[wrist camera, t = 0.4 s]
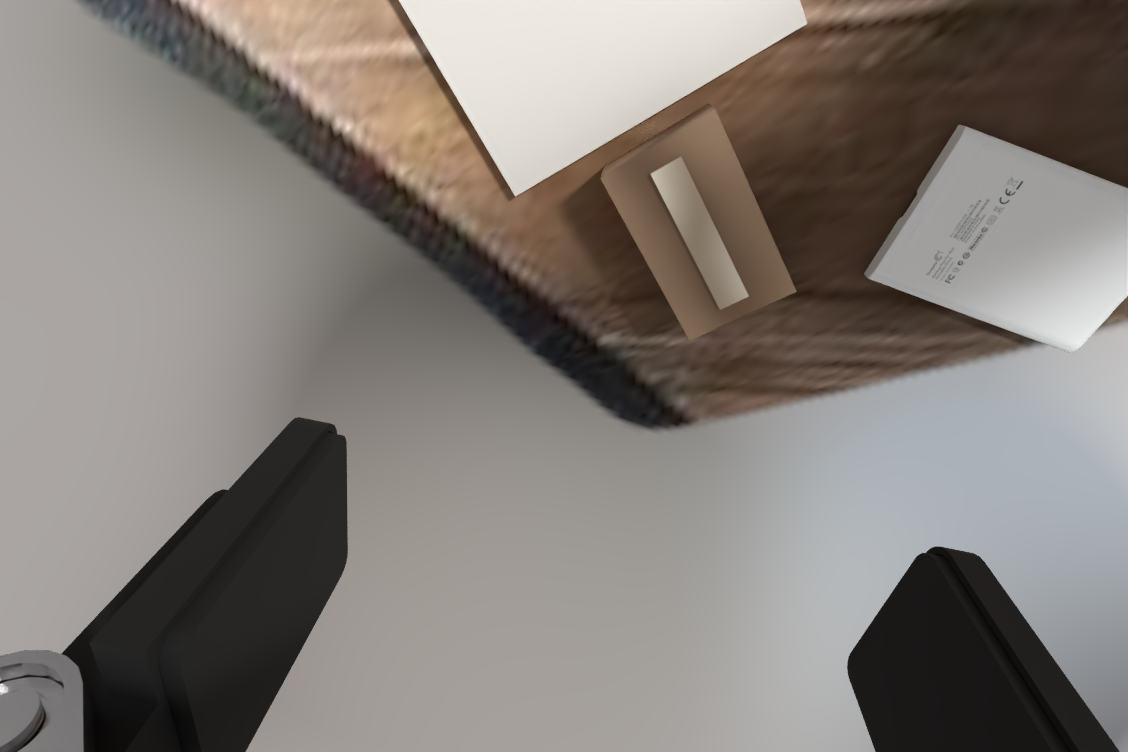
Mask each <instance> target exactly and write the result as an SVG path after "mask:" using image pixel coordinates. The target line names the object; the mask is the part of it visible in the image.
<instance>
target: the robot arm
mask: <svg viewBox="0 0 1128 752" xmlns="http://www.w3.org/2000/svg"><path fill="white" fill-rule="evenodd" d="M346 454H347V450H346V438H345V437H344V436H342V435H337V430H336V428H335V426H334V425H333V424H330V423H324V422H320V421H314V420H310V419H304V418H300V417H298V418H295V419H293V420H292V421H291V422H290V423H289V424H288V425H287V426H286V428H285V429H284V430H283V431H282V432H281V433H280V434H279V435H278V437H276V438H275V440H274V441H273V442H272V443H271V444H270V445H269V446H268V447H267V448H266V449H265V450H264V452H263V453H262V454H261V455H260V456H259V457H258V458H257V459H256V460H255V461H254V463H253V464H252V465H251V466H250V467H249V468H248V469H247V470H246V471H245V472H244V473H243V475H242V476H241V477H240V478H239V479H238V480H237V481H236V482H235V483H234V485H232V487H231V488H230V489H229V490H220V491H218V492H216V493H214V494H213V495H212V496H211V497H209V498H208V499H207V500H206V501H205V502H204V503H203V504H202V505H201V506H200V507H199V508H198V509H197V511H195V513H194V514H193V515H192V516H191V517H190V518H189V519H188V520H187V521H186V522H185V523H184V525H182V526H181V528H180V529H179V530H178V531H177V532H176V533H175V534H174V535H173V536H172V537H171V538H170V539H169V540H168V541H167V542H166V543H165V545H164V546H163V547H162V548H161V549H160V550H159V551H158V552H157V553H156V554H155V555H154V556H153V557H152V558H151V559H150V560H149V561H148V563H146V565H145V566H144V567H143V568H142V569H141V570H140V571H139V572H138V573H137V574H136V575H135V576H134V577H133V578H132V579H131V580H130V582H129V583H128V584H127V585H126V586H125V587H124V588H123V589H122V590H121V591H120V592H119V593H118V594H117V595H116V596H115V598H114V599H113V600H112V601H111V602H110V603H109V604H108V605H107V606H106V607H105V608H104V609H103V610H102V611H101V612H100V613H99V614H98V616H97V617H96V618H95V619H94V620H93V621H92V622H91V623H90V624H89V625H88V626H87V627H86V628H85V629H84V630H83V631H82V633H81V634H80V635H79V636H78V637H77V638H76V639H75V640H74V641H73V642H72V643H71V644H70V645H69V646H68V647H67V648H66V650H65V651H64V652H63V653H62V654H59V653H56V652H52V651H49V650H29V651H28V650H26V651H25V650H24V651H19V652H16V653H11V654H6V655H2V656H0V752H245V751H246V750H247V748H248V746H249V744H250V742H251V740H252V739H253V737H254V735H255V733H256V731H257V729H258V728H259V726H260V724H261V722H262V720H263V718H264V717H265V715H266V713H267V711H268V709H269V708H270V706H271V704H272V702H273V700H274V698H275V696H276V695H277V693H278V691H279V689H280V687H281V686H282V684H283V682H284V680H285V678H286V676H287V675H288V673H289V671H290V669H291V667H292V665H293V664H294V662H295V660H296V658H297V656H298V654H299V653H300V651H301V649H302V647H303V645H304V643H305V642H306V640H307V638H308V636H309V634H310V632H311V631H312V629H313V627H314V625H315V623H316V621H317V620H318V618H319V616H320V614H321V612H322V610H323V608H324V607H325V605H326V603H327V601H328V599H329V597H330V596H331V594H332V592H333V590H334V588H335V586H336V585H337V583H338V581H339V579H340V577H341V575H342V573H343V570H344V568H345V564H346V560H347V553H348V552H347V551H348V548H347V547H348V545H347V544H348V543H347V458H346V457H347V455H346ZM847 668H848V675H849V679H850V682H851V684H852V687H853V690H854V693H855V696H856V699H857V701H858V704H859V707H860V710H861V712H862V715H863V718H864V720H865V723H866V726H867V729H868V732H869V735H870V737H871V740H872V743H873V746H874V748H875V751H876V752H1119V750H1118V749H1117V748H1116V746H1115V745H1114V743H1113V742H1112V740H1111V739H1110V738H1109V736H1108V735H1107V733H1106V732H1105V731H1104V729H1103V728H1102V726H1101V725H1100V723H1099V722H1098V721H1097V719H1096V718H1095V716H1094V715H1093V714H1092V712H1091V711H1090V709H1089V708H1088V707H1087V705H1086V704H1085V703H1084V701H1083V700H1082V698H1081V697H1080V696H1079V694H1078V693H1077V691H1076V690H1075V688H1074V687H1073V686H1072V684H1071V683H1070V682H1069V680H1068V679H1067V677H1066V676H1065V674H1064V673H1063V672H1062V670H1061V669H1060V667H1059V666H1058V665H1057V663H1056V662H1055V660H1054V659H1053V658H1052V656H1051V655H1050V653H1049V652H1048V651H1047V649H1046V648H1045V646H1044V645H1043V643H1042V642H1041V641H1040V639H1039V638H1038V636H1037V635H1036V634H1035V632H1034V631H1033V630H1032V628H1031V627H1030V625H1029V624H1028V622H1027V621H1026V620H1025V618H1024V617H1023V615H1022V614H1021V613H1020V611H1019V610H1018V608H1017V607H1016V606H1015V604H1014V603H1013V601H1012V600H1011V599H1010V597H1009V596H1008V595H1007V593H1006V591H1005V590H1004V589H1003V587H1002V586H1001V584H1000V583H999V582H998V581H997V579H996V577H995V576H994V575H993V573H992V572H991V570H990V569H989V568H988V566H987V565H986V563H985V562H984V561H983V560H982V559H981V558H980V557H979V556H977V555H975V554H973V553H969V552H964V551H959V550H954V549H949V548H944V547H933V548H931V549H929V550H928V551H927V552H926V553H922V554H920V555H918V556H917V557H916V558H915V560H914V561H913V563H912V564H911V566H910V567H909V569H908V570H907V572H906V573H905V574H904V576H903V577H902V579H901V580H900V582H899V583H898V585H897V586H896V587H895V589H894V590H893V592H892V593H891V595H890V596H889V598H888V599H887V601H886V602H885V604H884V605H883V606H882V608H881V610H880V611H879V612H878V614H877V615H876V617H875V618H874V620H873V621H872V623H871V624H870V626H869V627H868V629H867V630H866V631H865V633H864V634H863V636H862V637H861V639H860V640H859V642H858V643H857V645H856V646H855V648H854V649H853V650H852V652H851V653H850V656H849V659H848V667H847Z"/></svg>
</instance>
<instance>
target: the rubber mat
mask: <svg viewBox="0 0 1128 752" xmlns="http://www.w3.org/2000/svg"><path fill="white" fill-rule="evenodd" d="M399 2H400V3H401V5H402V7H403V8H404V10H405V12H406V13H407V15H408V17H409V18H410V20H411V22H412V23H413V25H414V27H415V28H416V30H417V32H418V34H419V35H420V37H421V39H422V40H423V42H424V44H425V45H426V47H427V49H428V50H429V52H430V54H431V55H432V57H433V59H434V61H435V62H436V64H437V66H438V67H439V69H440V71H441V72H442V74H443V76H444V77H445V79H446V81H447V82H448V84H449V86H450V87H451V89H452V91H453V93H454V94H455V96H456V98H457V99H458V101H459V103H460V104H461V106H462V108H463V109H464V111H465V113H466V114H467V116H468V118H469V119H470V121H471V123H472V125H473V126H474V128H475V130H476V131H477V133H478V135H479V136H480V138H481V140H482V141H483V143H484V145H485V146H486V148H487V150H488V152H489V153H490V155H491V157H492V158H493V160H494V162H495V163H496V165H497V167H498V168H499V170H500V172H501V173H502V175H503V177H504V178H505V180H506V182H507V184H508V185H509V187H510V189H511V190H512V192H513V194H514V195H515V197H516V196H517V195H519V194H521V193H522V192H524V191H526V190H527V189H529V188H531V187H532V186H534V185H536V184H537V183H539V182H541V181H543V180H544V179H546V178H548V177H549V176H551V175H553V174H554V173H556V172H558V171H559V170H561V169H563V168H565V167H566V166H568V165H570V164H571V163H573V162H575V161H576V160H578V159H580V158H581V157H583V156H585V155H586V154H588V153H590V152H592V151H593V150H595V149H597V148H598V147H600V146H602V145H603V144H605V143H607V142H608V141H610V140H612V139H613V138H615V137H617V136H619V135H620V134H622V133H624V132H625V131H627V130H629V129H630V128H632V127H634V126H635V125H637V124H639V123H641V122H642V121H644V120H646V119H647V118H649V117H651V116H652V115H654V114H656V113H657V112H659V111H661V110H662V109H664V108H666V107H668V106H669V105H671V104H673V103H674V102H676V101H678V100H679V99H681V98H683V97H684V96H686V95H688V94H690V93H691V92H693V91H695V90H696V89H698V88H700V87H701V86H703V85H705V84H706V83H708V82H710V81H711V80H713V79H715V78H717V77H718V76H720V75H722V74H723V73H725V72H727V71H728V70H730V69H732V68H733V67H735V66H737V65H738V64H740V63H742V62H744V61H745V60H747V59H749V58H750V57H752V56H754V55H755V54H757V53H759V52H760V51H762V50H764V49H766V48H767V47H769V46H771V45H772V44H774V43H776V42H777V41H779V40H781V39H782V38H784V37H786V36H787V35H789V34H791V33H793V32H794V31H796V30H798V29H799V28H801V27H803V26H804V25H806V24H808V23H807V20H806V17H805V14H804V11H803V8H802V5H801V3H800V0H399Z"/></svg>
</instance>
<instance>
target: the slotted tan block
mask: <svg viewBox="0 0 1128 752" xmlns="http://www.w3.org/2000/svg"><path fill="white" fill-rule="evenodd" d="M600 179H601V181H602V182H603V184H604V186H605V188H606V190H607V192H608V193H609V195H610V197H611V199H612V201H613V202H614V204H615V206H616V208H617V210H618V212H619V213H620V215H621V217H622V219H623V221H624V222H625V224H626V226H627V228H628V230H629V232H630V233H631V235H632V237H633V239H634V241H635V242H636V244H637V246H638V248H639V250H640V251H641V253H642V255H643V257H644V259H645V261H646V262H647V264H648V266H649V268H650V270H651V271H652V273H653V275H654V277H655V279H656V281H657V282H658V284H659V286H660V288H661V290H662V291H663V293H664V295H665V297H666V299H667V301H668V302H669V304H670V306H671V308H672V310H673V311H674V313H675V315H676V317H677V319H678V321H679V322H680V324H681V326H682V328H683V330H684V331H685V333H686V335H687V337H688V339H689V340H690V341H691V340H693V339H695V338H697V337H699V336H701V335H704V334H706V333H708V332H710V331H712V330H714V329H717V328H719V327H721V326H723V325H725V324H727V323H730V322H732V321H734V320H736V319H738V318H740V317H743V316H745V315H747V314H749V313H751V312H754V311H756V310H758V309H760V308H762V307H764V306H767V305H769V304H771V303H773V302H775V301H777V300H780V299H782V298H784V297H786V296H788V295H790V294H793V293H795V292H797V291H796V289H795V287H794V284H793V282H792V280H791V278H790V275H789V273H788V271H787V269H786V266H785V264H784V262H783V260H782V257H781V255H780V253H779V251H778V249H777V246H776V244H775V242H774V240H773V237H772V235H771V233H770V231H769V228H768V226H767V224H766V222H765V219H764V217H763V215H762V213H761V210H760V208H759V206H758V204H757V201H756V199H755V197H754V195H753V192H752V190H751V188H750V186H749V183H748V181H747V179H746V177H745V174H744V172H743V170H742V168H741V165H740V163H739V161H738V159H737V156H736V154H735V152H734V150H733V147H732V145H731V143H730V141H729V138H728V136H727V134H726V132H725V129H724V127H723V125H722V123H721V120H720V118H719V116H718V114H717V111H716V109H714V108H713V107H712V106H711V105H710V104H707V105H705V106H703V107H702V108H700V109H699V110H697V111H695V112H694V113H692V114H690V115H689V116H687V117H685V118H684V119H682V120H680V121H679V122H677V123H675V124H674V125H672V126H670V127H669V128H667V129H665V130H664V131H662V132H661V133H659V134H657V135H656V136H654V137H652V138H651V139H649V140H647V141H646V142H644V143H642V144H641V145H639V146H637V147H636V148H634V149H632V150H631V151H629V152H628V153H626V154H624V155H623V156H621V157H619V158H618V159H616V160H614V161H613V162H611V163H609V164H608V165H606V166H604V168H603V171H602V175H601V178H600Z"/></svg>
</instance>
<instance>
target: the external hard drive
mask: <svg viewBox="0 0 1128 752" xmlns="http://www.w3.org/2000/svg"><path fill="white" fill-rule="evenodd" d="M864 275H865V276H866V277H867V278H868V279H871V280H873V281H876V282H879V283H882V284H884V285H887V286H890V287H892V288H895V289H898V290H900V291H903V292H906V293H908V294H911V295H914V296H916V297H919V298H922V299H924V300H927V301H930V302H933V303H935V304H938V305H941V306H943V307H946V308H949V309H952V310H954V311H957V312H960V313H963V314H965V315H968V316H971V317H973V318H976V319H979V320H981V321H984V322H987V323H990V324H992V325H995V326H998V327H1001V328H1003V329H1006V330H1009V331H1011V332H1014V333H1017V334H1020V335H1022V336H1025V337H1028V338H1031V339H1033V340H1036V341H1039V342H1042V343H1044V344H1047V345H1050V346H1053V347H1055V348H1058V349H1061V350H1064V351H1067V352H1070V353H1071V352H1074V351H1076V350H1077V349H1079V348H1080V347H1081V346H1082V345H1083V344H1084V343H1085V342H1086V340H1087V339H1088V338H1089V337H1090V336H1091V335H1092V334H1093V333H1094V332H1095V331H1096V330H1097V328H1098V327H1099V326H1100V325H1101V324H1102V323H1103V322H1104V321H1105V320H1106V319H1107V318H1108V317H1109V315H1110V314H1111V313H1112V312H1113V311H1114V310H1115V309H1116V308H1117V306H1118V305H1119V304H1120V303H1121V302H1122V301H1123V300H1124V299H1125V298H1126V297H1127V296H1128V188H1126V187H1123V186H1121V185H1118V184H1115V183H1113V182H1110V181H1107V180H1105V179H1102V178H1100V177H1097V176H1094V175H1092V174H1089V173H1087V172H1084V171H1081V170H1079V169H1076V168H1074V167H1071V166H1068V165H1066V164H1063V163H1061V162H1058V161H1055V160H1053V159H1050V158H1047V157H1045V156H1042V155H1040V154H1037V153H1034V152H1032V151H1029V150H1027V149H1024V148H1021V147H1019V146H1016V145H1013V144H1011V143H1008V142H1006V141H1003V140H1000V139H998V138H995V137H992V136H989V135H987V134H984V133H982V132H979V131H977V130H974V129H971V128H969V127H967V126H962V125H958V126H957V128H956V130H955V131H954V133H953V134H952V136H951V138H950V139H949V141H948V142H947V144H946V146H945V147H944V149H943V150H942V152H941V153H940V155H939V157H938V158H937V160H936V161H935V163H934V164H933V166H932V168H931V169H930V171H929V172H928V174H927V175H926V177H925V179H924V180H923V182H922V183H921V185H920V187H919V188H918V190H917V195H916V197H915V198H914V200H913V201H912V203H911V205H910V206H909V208H908V209H907V211H906V212H905V214H904V215H903V216H902V217H900V218H899V220H898V221H897V223H896V224H895V226H894V227H893V229H892V230H891V232H890V234H889V235H888V237H887V238H886V240H885V241H884V243H883V245H882V246H881V248H880V249H879V251H878V252H877V254H876V256H875V257H874V259H873V260H872V262H871V263H870V265H869V266H868V268H867V270H866V271H865V273H864Z"/></svg>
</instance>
